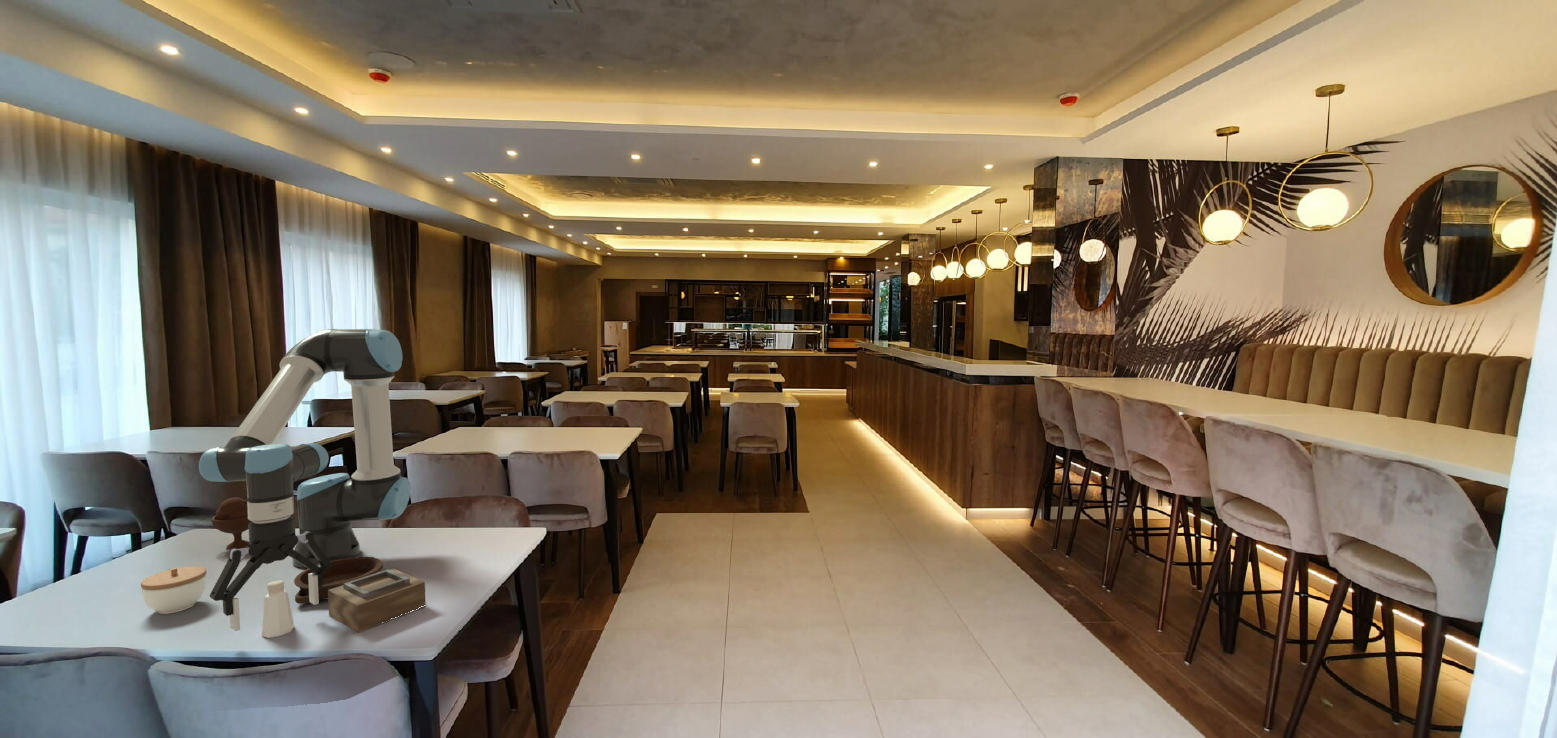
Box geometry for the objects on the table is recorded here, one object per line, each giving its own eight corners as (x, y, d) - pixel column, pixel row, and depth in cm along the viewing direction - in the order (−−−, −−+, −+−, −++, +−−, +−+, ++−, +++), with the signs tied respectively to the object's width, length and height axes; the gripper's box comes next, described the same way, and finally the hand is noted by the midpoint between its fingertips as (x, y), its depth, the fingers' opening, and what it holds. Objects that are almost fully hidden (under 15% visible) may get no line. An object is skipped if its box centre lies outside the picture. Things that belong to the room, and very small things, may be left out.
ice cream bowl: (268, 544, 178) (266, 495, 177) (219, 556, 169) (216, 504, 168) (255, 537, 184) (252, 489, 183) (207, 548, 175) (203, 498, 173)
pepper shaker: (296, 631, 128) (293, 582, 127) (263, 641, 124) (260, 590, 124) (292, 622, 132) (289, 574, 131) (260, 631, 128) (257, 582, 127)
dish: (266, 605, 140) (265, 585, 140) (351, 568, 162) (350, 550, 162) (328, 613, 137) (327, 592, 137) (405, 574, 158) (405, 555, 158)
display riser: (329, 615, 135) (327, 584, 135) (394, 592, 147) (393, 564, 147) (359, 632, 128) (357, 600, 128) (425, 606, 140) (424, 576, 139)
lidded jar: (150, 623, 131) (147, 582, 130) (137, 611, 137) (134, 571, 136) (215, 604, 140) (212, 565, 139) (200, 593, 146) (197, 556, 145)
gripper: (198, 538, 114) (204, 646, 115) (347, 506, 135) (350, 597, 136) (185, 531, 118) (191, 635, 119) (331, 501, 139) (335, 589, 140)
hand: (276, 615), depth 128 cm, fingers open, 13 cm apart
